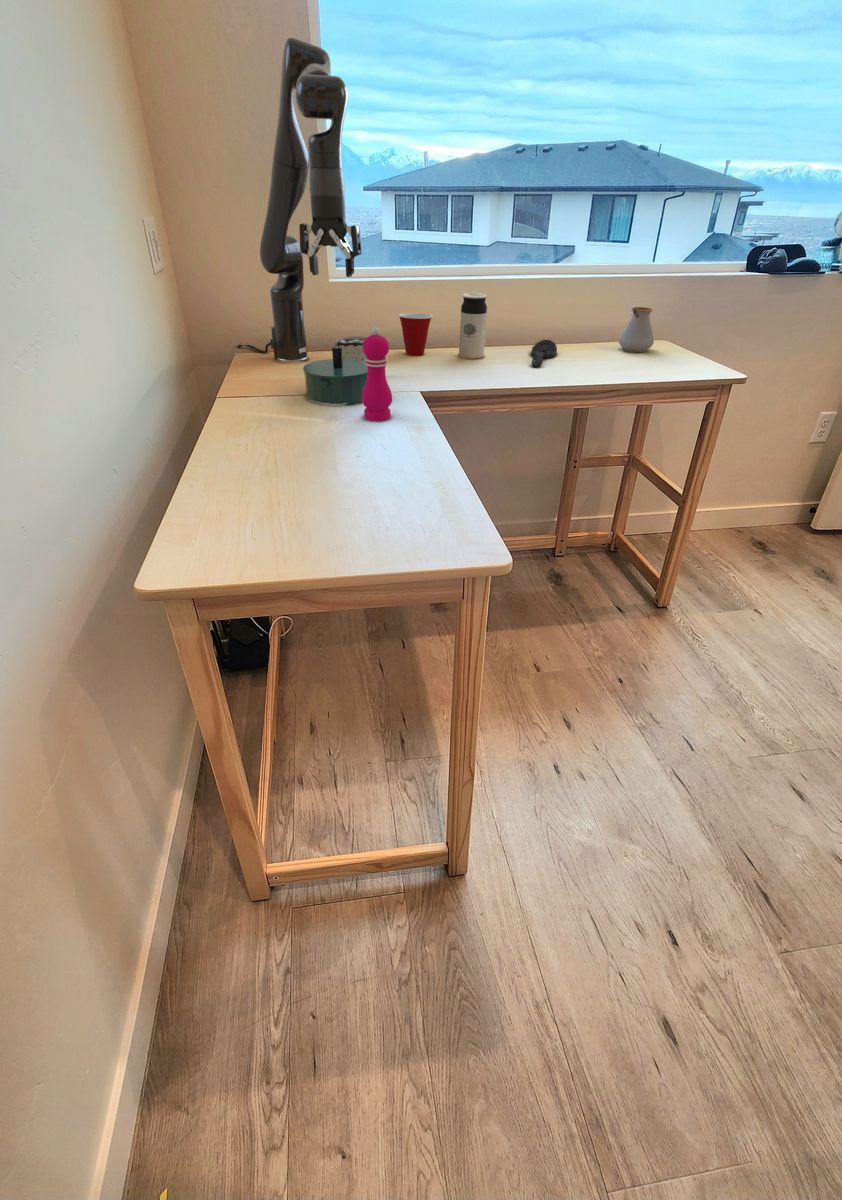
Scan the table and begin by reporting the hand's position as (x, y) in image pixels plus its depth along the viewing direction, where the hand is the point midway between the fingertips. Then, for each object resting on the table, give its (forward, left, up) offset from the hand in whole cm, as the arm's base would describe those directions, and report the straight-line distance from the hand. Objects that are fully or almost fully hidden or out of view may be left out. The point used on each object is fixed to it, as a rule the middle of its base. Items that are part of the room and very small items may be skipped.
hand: (332, 275), depth 145 cm
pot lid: (0, 0, -21) cm, 21 cm away
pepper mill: (+15, -13, -28) cm, 34 cm away
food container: (-2, +21, -28) cm, 35 cm away
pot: (0, 0, -28) cm, 28 cm away
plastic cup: (+6, +51, -28) cm, 59 cm away
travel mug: (+24, +54, -28) cm, 65 cm away
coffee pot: (+74, +77, -28) cm, 110 cm away
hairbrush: (+46, +59, -28) cm, 80 cm away
